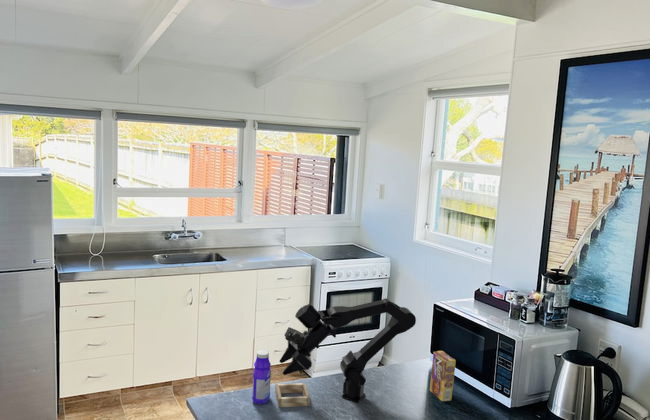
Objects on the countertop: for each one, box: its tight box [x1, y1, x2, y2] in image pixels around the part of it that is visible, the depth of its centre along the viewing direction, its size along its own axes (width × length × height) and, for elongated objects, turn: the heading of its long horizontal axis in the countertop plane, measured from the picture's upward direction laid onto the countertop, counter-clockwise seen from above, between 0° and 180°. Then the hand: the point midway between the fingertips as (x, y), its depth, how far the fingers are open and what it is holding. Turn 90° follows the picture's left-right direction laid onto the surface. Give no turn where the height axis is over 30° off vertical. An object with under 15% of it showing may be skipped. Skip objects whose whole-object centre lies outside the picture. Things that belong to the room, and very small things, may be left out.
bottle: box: [251, 349, 272, 405], centre depth 189 cm, size 7×6×17 cm
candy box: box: [429, 350, 457, 402], centre depth 200 cm, size 9×4×15 cm, turn 20°
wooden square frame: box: [274, 382, 311, 408], centre depth 192 cm, size 11×11×3 cm
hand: (281, 368), depth 190 cm, fingers open, 9 cm apart
